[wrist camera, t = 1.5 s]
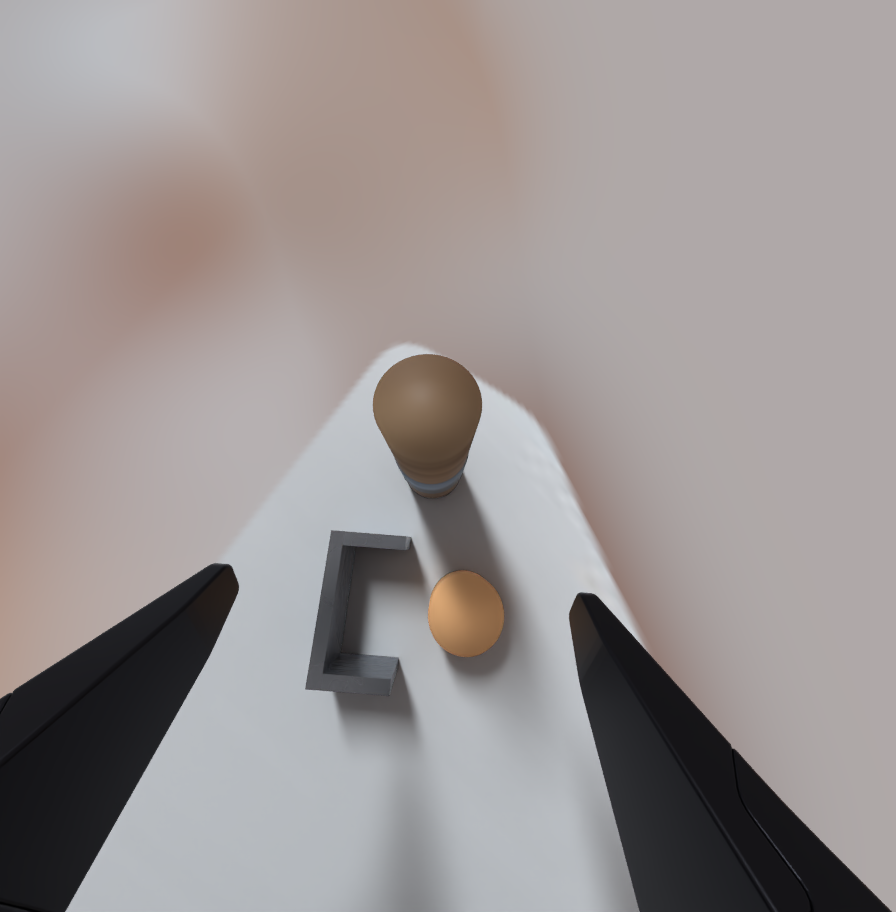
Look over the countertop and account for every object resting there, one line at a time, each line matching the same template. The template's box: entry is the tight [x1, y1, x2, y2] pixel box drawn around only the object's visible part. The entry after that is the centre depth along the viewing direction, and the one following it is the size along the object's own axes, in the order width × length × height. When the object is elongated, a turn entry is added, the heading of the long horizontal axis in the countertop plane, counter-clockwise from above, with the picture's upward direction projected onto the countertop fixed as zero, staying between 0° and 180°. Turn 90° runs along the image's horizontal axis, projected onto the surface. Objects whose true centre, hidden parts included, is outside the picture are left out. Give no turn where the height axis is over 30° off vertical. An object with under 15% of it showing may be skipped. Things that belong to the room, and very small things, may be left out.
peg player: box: [373, 354, 482, 498], centre depth 16 cm, size 4×4×11 cm
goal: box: [305, 530, 411, 696], centre depth 18 cm, size 7×4×3 cm, turn 176°
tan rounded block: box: [428, 570, 504, 657], centre depth 18 cm, size 4×4×2 cm
